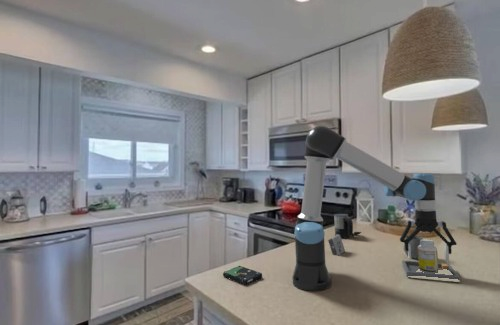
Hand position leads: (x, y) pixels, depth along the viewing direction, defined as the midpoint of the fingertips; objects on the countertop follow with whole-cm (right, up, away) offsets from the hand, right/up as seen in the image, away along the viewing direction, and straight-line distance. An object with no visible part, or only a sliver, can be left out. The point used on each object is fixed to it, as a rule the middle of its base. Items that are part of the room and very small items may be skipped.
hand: (428, 260), depth 118 cm
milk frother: (-10, -8, +67) cm, 68 cm away
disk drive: (-79, -10, +4) cm, 79 cm away
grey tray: (0, -6, 0) cm, 6 cm away
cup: (+7, -6, +21) cm, 23 cm away
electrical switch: (-28, -8, +33) cm, 44 cm away
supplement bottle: (0, -5, 0) cm, 5 cm away
